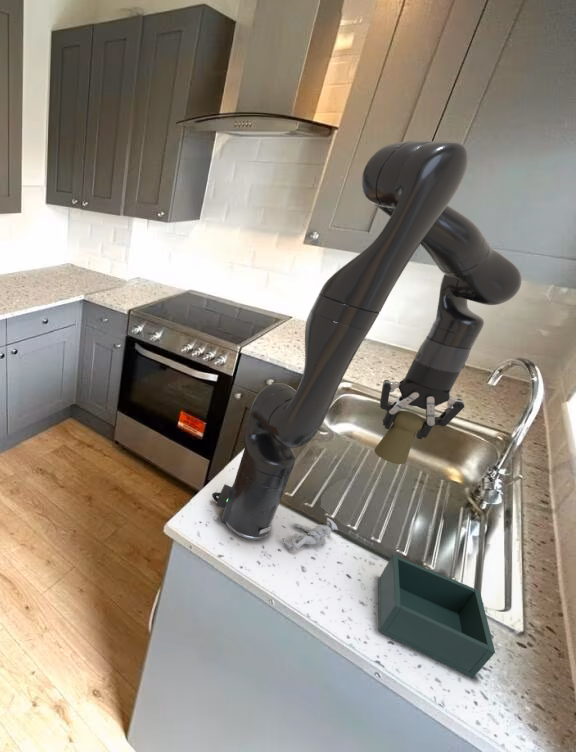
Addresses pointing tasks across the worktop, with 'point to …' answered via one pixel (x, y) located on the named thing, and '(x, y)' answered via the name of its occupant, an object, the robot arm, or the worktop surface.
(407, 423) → the cork
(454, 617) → the tote
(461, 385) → the worktop surface
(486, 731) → the worktop surface
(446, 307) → the robot arm
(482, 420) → the worktop surface
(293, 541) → the soldier figure
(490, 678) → the worktop surface
